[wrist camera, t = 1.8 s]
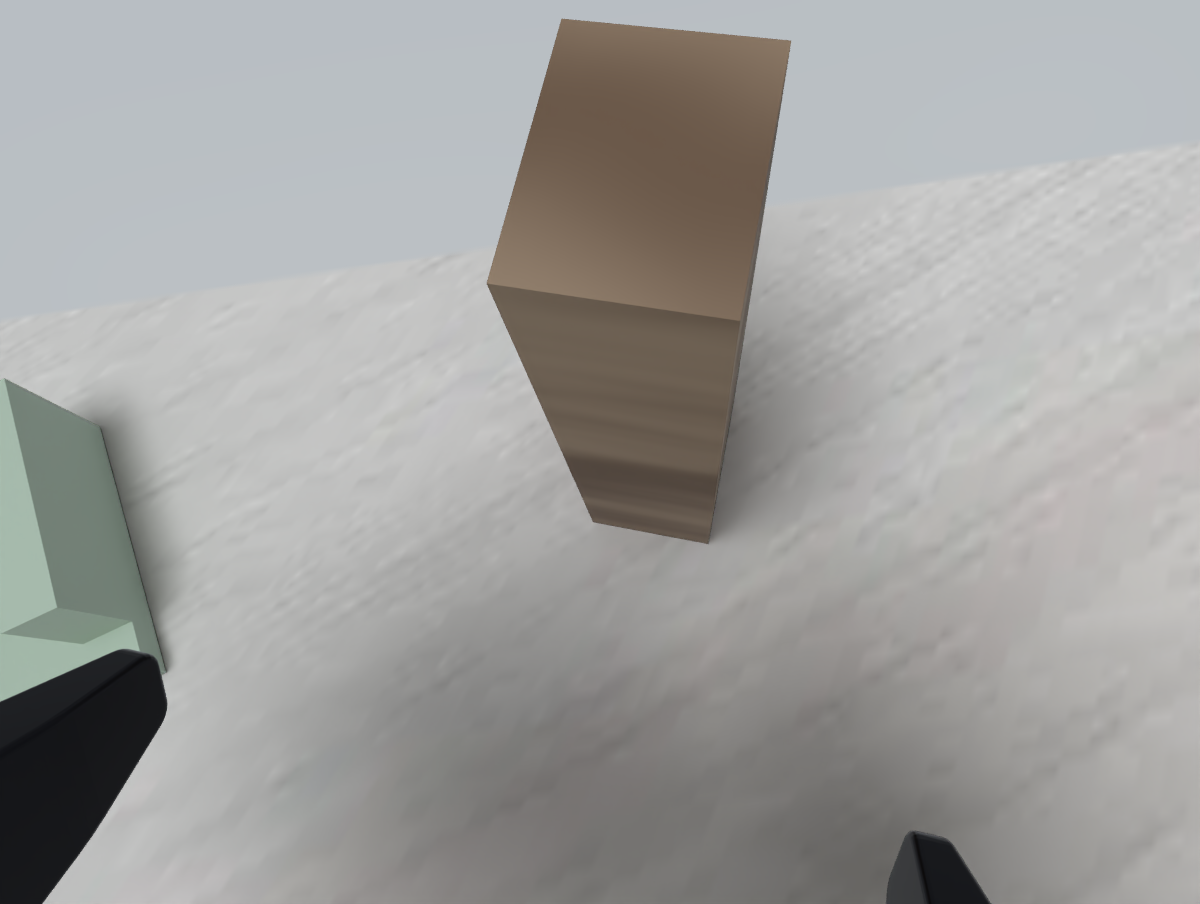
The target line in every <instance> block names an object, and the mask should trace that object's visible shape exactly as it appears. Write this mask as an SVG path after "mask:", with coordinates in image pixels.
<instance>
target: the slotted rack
mask: <svg viewBox="0 0 1200 904" xmlns="http://www.w3.org/2000/svg"><path fill="white" fill-rule="evenodd" d="M119 649H131V650H136V651H140V652H144V653H149V654H151V655H153V656H154V657H155V658H156V659H157V660H158V663H159V667H160V671H161V674H164V673H166V671H165V667H164V663H163V660H162V656H161V652H160V648H159V645H158V641H157V637H156V634H155V630H154V626H153V622H152V619H151V615H150V611H149V608H148V604H147V600H146V596H145V593H144V589H143V585H142V582H141V578H140V574H139V570H138V567H137V563H136V559H135V556H134V552H133V548H132V544H131V541H130V537H129V533H128V530H127V526H126V522H125V518H124V515H123V511H122V507H121V503H120V500H119V496H118V492H117V489H116V485H115V481H114V477H113V474H112V470H111V466H110V463H109V459H108V455H107V451H106V448H105V444H104V440H103V437H102V433H101V429H100V427H99V426H97V425H95V424H93V423H91V422H89V421H87V420H85V419H83V418H82V417H80V416H78V415H76V414H74V413H72V412H70V411H68V410H66V409H64V408H62V407H60V406H58V405H56V404H54V403H52V402H50V401H48V400H46V399H44V398H42V397H40V396H38V395H36V394H34V393H32V392H30V391H28V390H26V389H24V388H22V387H20V386H18V385H16V384H14V383H12V382H10V381H8V380H6V379H5V378H4V379H2V380H0V701H3V700H5V699H7V698H9V697H12V696H14V695H16V694H18V693H21V692H23V691H25V690H27V689H30V688H32V687H34V686H37V685H39V684H41V683H43V682H46V681H48V680H50V679H52V678H55V677H57V676H59V675H61V674H64V673H66V672H68V671H70V670H73V669H75V668H77V667H79V666H82V665H84V664H86V663H88V662H91V661H93V660H95V659H97V658H100V657H102V656H104V655H106V654H109V653H111V652H113V651H116V650H119Z"/></svg>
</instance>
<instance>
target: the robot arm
mask: <svg viewBox="0 0 1200 904" xmlns="http://www.w3.org/2000/svg"><path fill="white" fill-rule="evenodd" d="M166 711H167V698H166V693H165V689H164V685H163V680H162V676H161V671H160V667H159V663H158V660H157V659H156V658H155V657H154V656H153V655H151V654H149V653H144V652H140V651H136V650H131V649H119V650H116V651H113V652H111V653H109V654H106V655H104V656H102V657H100V658H97V659H95V660H93V661H91V662H88V663H86V664H84V665H82V666H79V667H77V668H75V669H73V670H70V671H68V672H66V673H64V674H61V675H59V676H57V677H55V678H52V679H50V680H48V681H46V682H43V683H41V684H39V685H37V686H34V687H32V688H30V689H27V690H25V691H23V692H21V693H18V694H16V695H14V696H12V697H9V698H7V699H5V700H3V701H0V904H42V903H43V902H44V901H45V899H46V898H47V897H48V895H49V894H50V893H51V891H52V890H53V889H54V887H55V886H56V885H57V883H58V882H59V881H60V879H61V878H62V877H63V875H64V874H65V873H66V871H67V870H68V869H69V867H70V866H71V865H72V863H73V862H74V861H75V859H76V858H77V857H78V855H79V854H80V852H81V851H82V850H83V848H84V847H85V845H86V844H87V843H88V841H89V840H90V838H91V837H92V836H93V834H94V832H95V831H96V829H97V828H98V826H99V825H100V823H101V822H102V820H103V819H104V817H105V816H106V814H107V812H108V811H109V809H110V807H111V806H112V804H113V803H114V801H115V799H116V798H117V796H118V794H119V793H120V791H121V790H122V788H123V786H124V785H125V783H126V781H127V780H128V778H129V777H130V775H131V773H132V772H133V770H134V768H135V767H136V765H137V764H138V762H139V760H140V759H141V757H142V755H143V754H144V752H145V750H146V749H147V747H148V746H149V744H150V742H151V741H152V739H153V737H154V736H155V734H156V733H157V731H158V729H159V728H160V726H161V724H162V722H163V720H164V718H165V715H166ZM886 904H991V903H990V901H989V900H988V898H987V897H986V895H985V893H984V892H983V890H982V889H981V887H980V886H979V884H978V883H977V881H976V879H975V878H974V876H973V875H972V873H971V872H970V870H969V868H968V867H967V865H966V864H965V862H964V861H963V859H962V858H961V856H960V854H959V853H958V851H957V850H956V848H955V847H954V845H953V844H952V843H951V842H950V841H949V840H948V839H946V838H944V837H940V836H936V835H932V834H928V833H923V832H919V831H910V832H909V833H908V834H907V835H906V836H905V838H904V841H903V843H902V846H901V849H900V851H899V854H898V856H897V859H896V862H895V864H894V867H893V869H892V872H891V875H890V878H889V882H888V887H887V898H886Z"/></svg>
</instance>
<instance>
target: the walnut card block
mask: <svg viewBox="0 0 1200 904" xmlns="http://www.w3.org/2000/svg"><path fill="white" fill-rule="evenodd" d="M790 44H791V41H788V40H778V39H768V38H757V37H747V36H737V35H736V36H735V35H726V34H715V33H705V32H695V31H684V30H674V29H663V28H652V27H642V26H632V25H621V24H611V23H601V22H590V21H580V20H569V19H561V23H560V26H559V30H558V33H557V37H556V40H555V44H554V47H553V51H552V55H551V58H550V62H549V65H548V69H547V72H546V76H545V79H544V83H543V87H542V90H541V93H540V97H539V100H538V104H537V107H536V111H535V115H534V118H533V122H532V125H531V129H530V132H529V136H528V139H527V143H526V146H525V150H524V153H523V157H522V160H521V164H520V168H519V171H518V174H517V178H516V182H515V185H514V189H513V192H512V196H511V199H510V203H509V206H508V210H507V213H506V217H505V221H504V224H503V227H502V231H501V235H500V238H499V242H498V245H497V249H496V252H495V256H494V259H493V263H492V266H491V270H490V273H489V277H488V280H487V285H488V288H489V290H490V292H491V294H492V297H493V299H494V301H495V303H496V306H497V308H498V310H499V312H500V314H501V317H502V319H503V321H504V323H505V326H506V328H507V330H508V332H509V335H510V337H511V339H512V341H513V344H514V346H515V348H516V350H517V353H518V355H519V357H520V359H521V361H522V364H523V366H524V368H525V370H526V373H527V375H528V377H529V379H530V382H531V384H532V386H533V388H534V391H535V393H536V395H537V397H538V400H539V402H540V404H541V406H542V409H543V411H544V413H545V415H546V417H547V420H548V422H549V424H550V426H551V429H552V431H553V433H554V435H555V438H556V440H557V442H558V444H559V447H560V449H561V451H562V453H563V456H564V458H565V460H566V462H567V465H568V467H569V469H570V471H571V473H572V476H573V478H574V480H575V482H576V485H577V487H578V489H579V491H580V494H581V496H582V498H583V500H584V503H585V505H586V507H587V509H588V512H589V514H590V516H591V518H592V520H593V522H596V523H601V524H607V525H612V526H617V527H622V528H628V529H633V530H638V531H643V532H649V533H654V534H659V535H664V536H670V537H675V538H680V539H685V540H691V541H696V542H701V543H706V544H708V542H709V536H710V531H711V525H712V520H713V514H714V508H715V503H716V497H717V492H718V486H719V480H720V475H721V469H722V464H723V458H724V452H725V447H726V441H727V436H728V430H729V425H730V419H731V413H732V408H733V402H734V396H735V390H736V384H737V377H738V371H739V365H740V359H741V352H742V346H743V340H744V334H745V327H746V321H747V315H748V308H749V302H750V296H751V290H752V283H753V277H754V271H755V265H756V258H757V252H758V246H759V240H760V233H761V227H762V221H763V214H764V208H765V202H766V195H767V189H768V182H769V176H770V171H771V164H772V158H773V151H774V145H775V139H776V133H777V127H778V120H779V114H780V108H781V102H782V95H783V89H784V82H785V76H786V70H787V64H788V58H789V52H790Z"/></svg>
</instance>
